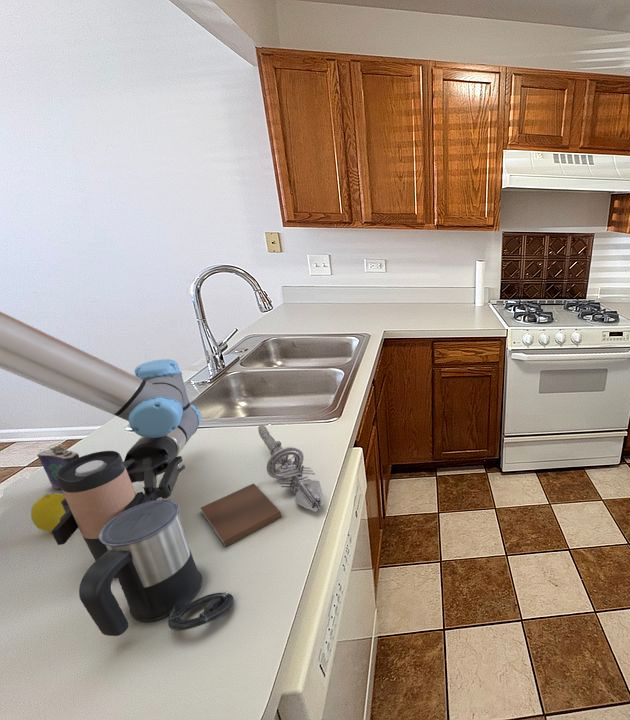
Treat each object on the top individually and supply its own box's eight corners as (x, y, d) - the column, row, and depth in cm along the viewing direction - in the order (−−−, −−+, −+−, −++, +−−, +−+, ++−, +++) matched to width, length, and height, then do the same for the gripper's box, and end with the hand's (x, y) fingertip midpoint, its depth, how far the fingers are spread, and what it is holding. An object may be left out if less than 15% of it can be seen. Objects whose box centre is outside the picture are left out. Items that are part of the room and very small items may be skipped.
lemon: (51, 523, 77) (35, 489, 74) (87, 515, 79) (73, 482, 76) (33, 544, 72) (15, 509, 69) (72, 535, 74) (56, 501, 71)
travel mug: (145, 537, 74) (110, 445, 67) (165, 554, 70) (129, 458, 63) (92, 566, 68) (46, 469, 60) (110, 587, 64) (64, 485, 57)
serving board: (202, 513, 79) (200, 507, 79) (255, 488, 86) (253, 483, 86) (225, 547, 71) (223, 541, 71) (281, 517, 78) (280, 511, 78)
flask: (49, 489, 86) (30, 447, 83) (65, 480, 89) (47, 439, 85) (84, 494, 85) (65, 452, 81) (98, 485, 87) (81, 444, 84)
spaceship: (278, 412, 102) (245, 412, 96) (343, 487, 80) (305, 492, 74) (270, 440, 103) (237, 441, 97) (332, 521, 81) (294, 529, 75)
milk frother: (151, 574, 66) (122, 503, 61) (254, 557, 69) (235, 488, 64) (94, 664, 53) (52, 583, 48) (224, 637, 56) (198, 558, 51)
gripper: (217, 457, 85) (175, 535, 65) (102, 474, 80) (16, 566, 59) (208, 426, 82) (161, 498, 62) (89, 442, 77) (-6, 526, 56)
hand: (91, 531), depth 61 cm, fingers closed on travel mug, 7 cm apart
